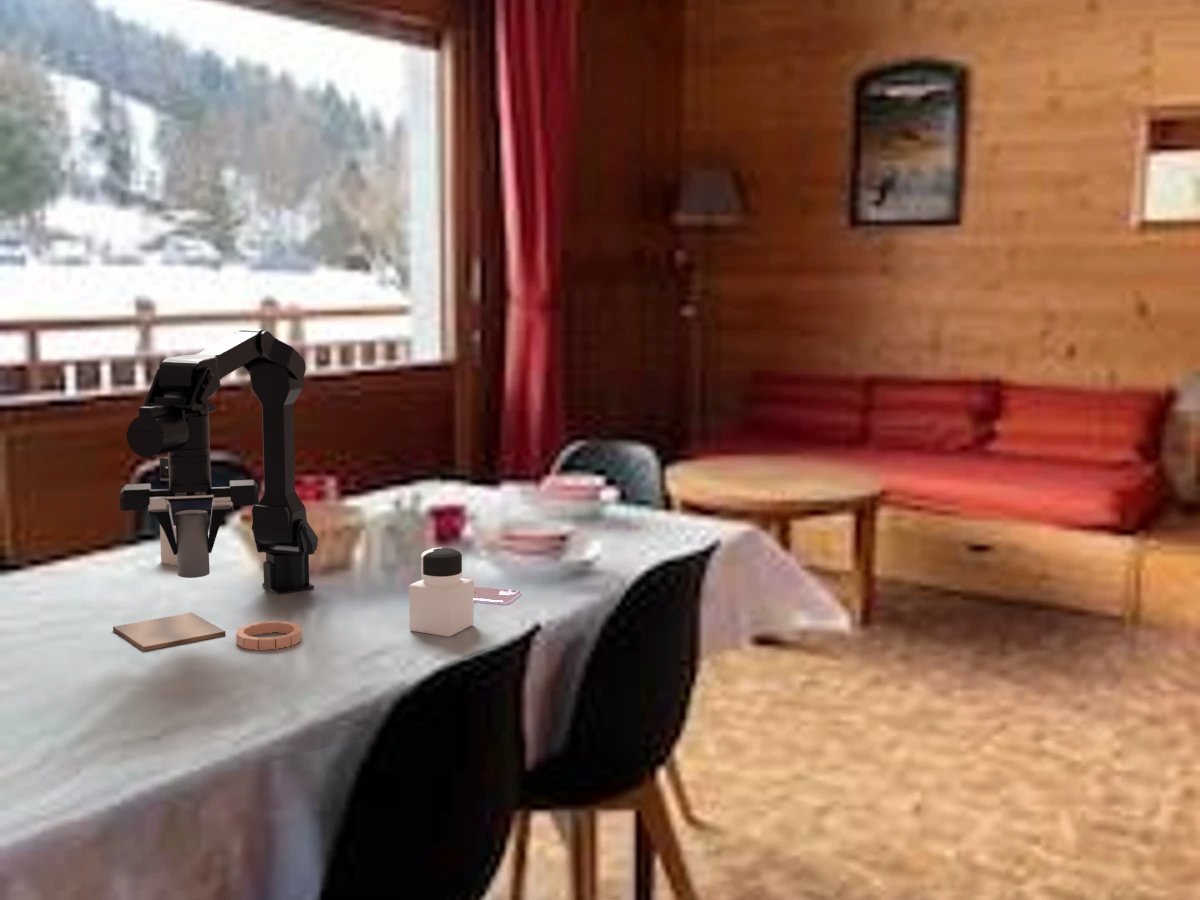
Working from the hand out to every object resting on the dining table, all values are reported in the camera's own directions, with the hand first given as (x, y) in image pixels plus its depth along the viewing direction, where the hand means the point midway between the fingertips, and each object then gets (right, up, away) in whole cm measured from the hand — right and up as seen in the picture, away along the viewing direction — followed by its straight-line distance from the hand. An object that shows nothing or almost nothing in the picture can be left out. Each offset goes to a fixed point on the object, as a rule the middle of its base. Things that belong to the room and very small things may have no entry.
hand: (192, 553), depth 184 cm
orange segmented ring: (+11, -13, 0) cm, 17 cm away
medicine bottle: (+35, -12, +7) cm, 38 cm away
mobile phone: (+38, -10, +25) cm, 47 cm away
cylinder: (0, -3, 0) cm, 3 cm away
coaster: (-4, -12, +3) cm, 13 cm away
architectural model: (-17, -6, +43) cm, 46 cm away
